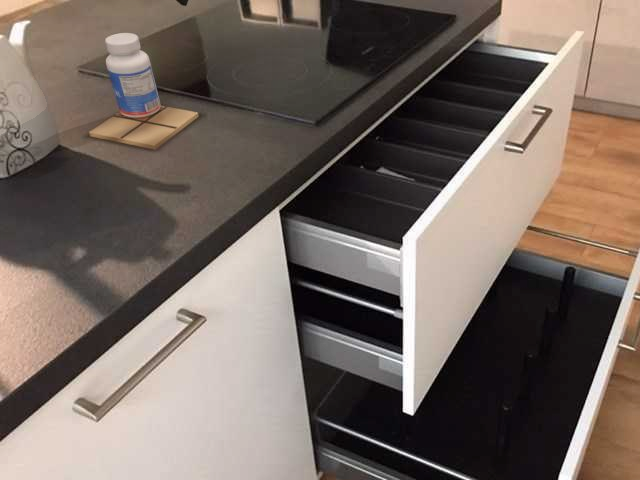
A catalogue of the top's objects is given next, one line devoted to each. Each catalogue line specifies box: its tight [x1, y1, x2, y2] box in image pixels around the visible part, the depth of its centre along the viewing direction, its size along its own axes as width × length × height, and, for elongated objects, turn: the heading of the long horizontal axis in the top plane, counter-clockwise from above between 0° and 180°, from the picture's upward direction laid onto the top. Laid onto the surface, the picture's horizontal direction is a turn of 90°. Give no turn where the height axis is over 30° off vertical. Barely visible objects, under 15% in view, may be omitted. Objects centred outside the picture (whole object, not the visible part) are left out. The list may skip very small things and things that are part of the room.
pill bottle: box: [104, 32, 162, 118], centre depth 86 cm, size 6×5×10 cm
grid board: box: [88, 105, 200, 150], centre depth 88 cm, size 10×10×1 cm
